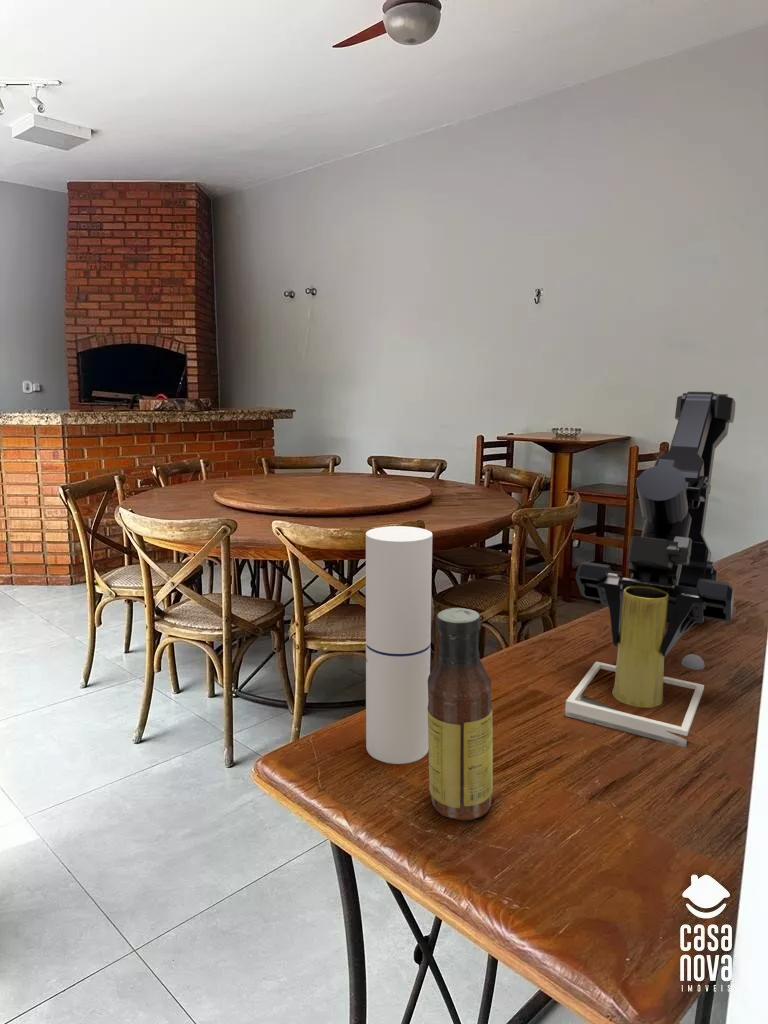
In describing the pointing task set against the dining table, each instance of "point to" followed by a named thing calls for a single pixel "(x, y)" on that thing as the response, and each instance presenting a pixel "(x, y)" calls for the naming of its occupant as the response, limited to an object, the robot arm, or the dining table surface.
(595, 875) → the dining table surface
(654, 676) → the vase
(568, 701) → the tray
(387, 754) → the cylindrical container
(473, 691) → the sauce bottle
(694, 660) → the mixing ball
